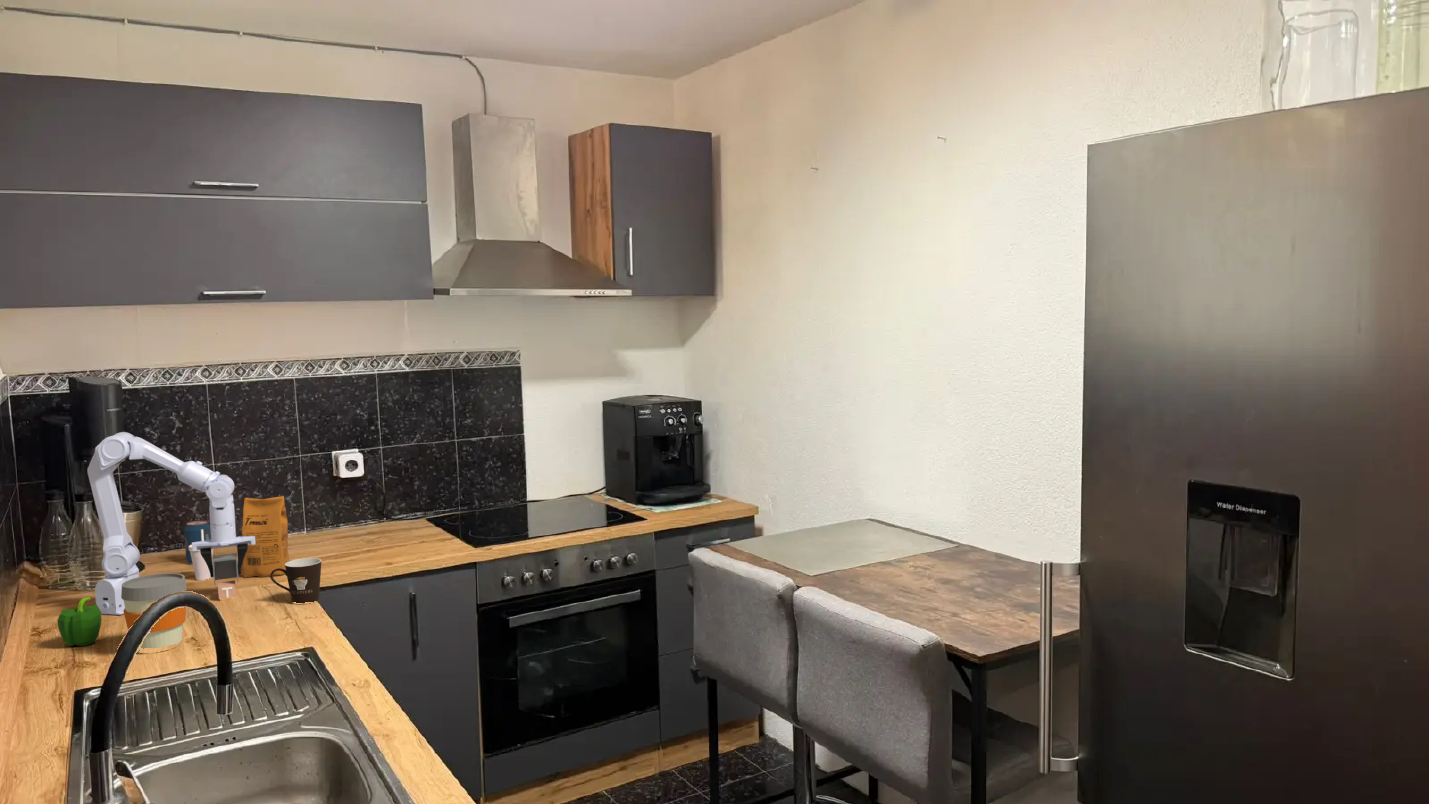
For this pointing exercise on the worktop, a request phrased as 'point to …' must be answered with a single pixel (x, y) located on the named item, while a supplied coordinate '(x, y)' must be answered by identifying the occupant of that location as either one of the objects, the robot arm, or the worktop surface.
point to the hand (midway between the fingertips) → (225, 574)
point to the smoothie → (200, 563)
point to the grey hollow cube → (225, 566)
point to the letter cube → (227, 589)
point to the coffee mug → (302, 579)
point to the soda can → (195, 535)
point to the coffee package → (265, 536)
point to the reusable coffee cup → (148, 591)
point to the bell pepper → (80, 624)
